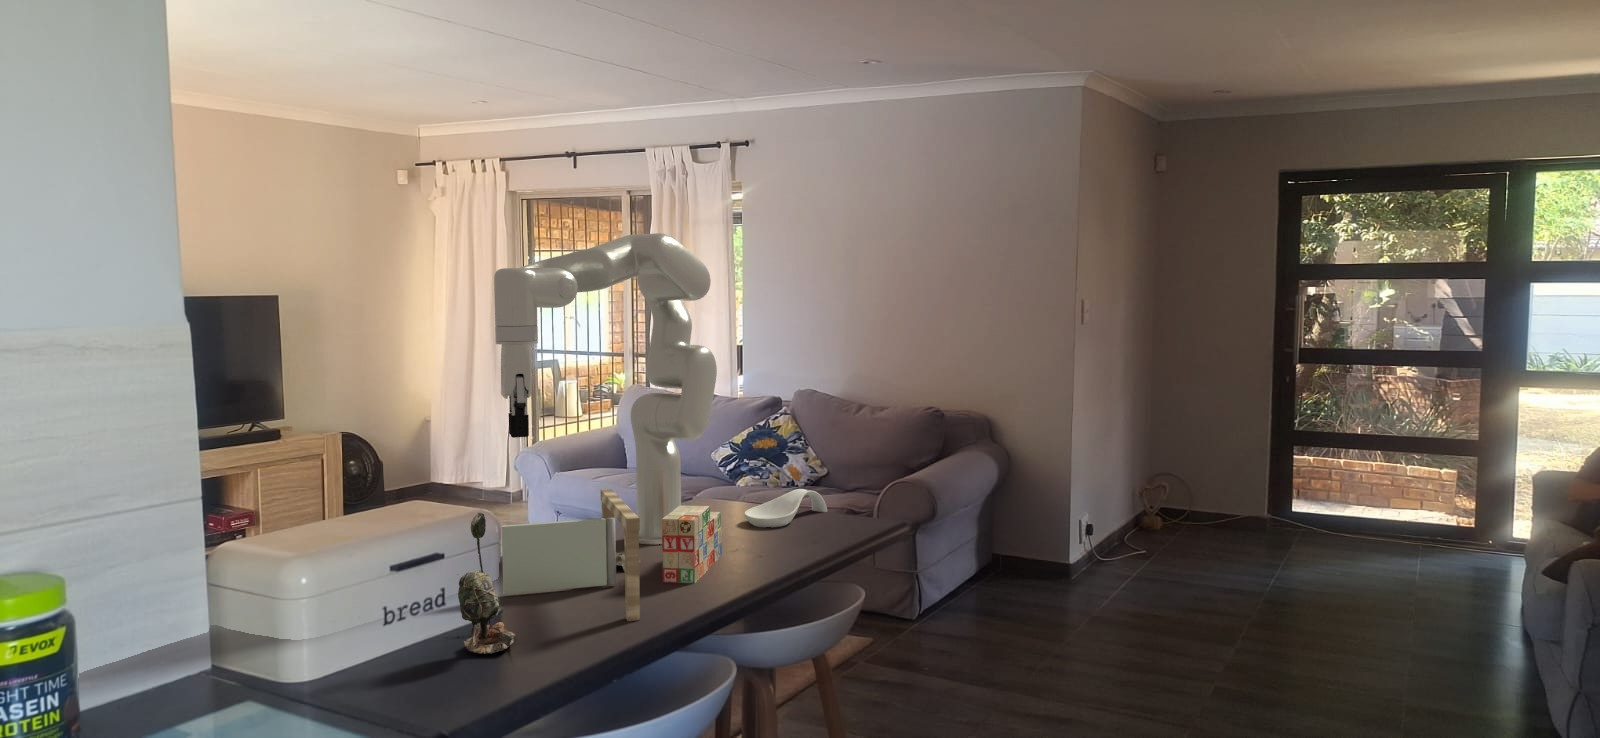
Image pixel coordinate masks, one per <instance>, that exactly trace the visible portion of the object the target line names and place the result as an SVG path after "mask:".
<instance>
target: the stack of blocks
mask: <svg viewBox="0 0 1600 738" xmlns="http://www.w3.org/2000/svg"><path fill="white" fill-rule="evenodd" d="M710 510H711V507H710V505H681V506H678V507H677V508H676V509H675V510H673V511H672V512H671V513H670V514H668V515H667V516H665V517H664V518H662V544H661V549H662V551H661V552H662V583H663V582H671V583H670V584H696V583H697V580H698V581H699V580H700V579H701V578H702V577H703V576H704V575H706V573H707V572H708V570H709V569H710V568H711V567H712V565H713V564H714V562H715V563H716V562H717V561H718V560H719V559H720V557H722V552H723V551H722V549H723V548H722V547H723V546H722V545H723V544H722V541H723V540H722V537H723V536H722V533H723V532H722V518H721V517H722V516H721V514H722V513H721V511H710ZM718 558H719V559H718ZM709 567H710V568H709ZM706 571H707V572H706Z"/></svg>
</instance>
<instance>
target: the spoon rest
mask: <svg viewBox="0 0 1600 738" xmlns="http://www.w3.org/2000/svg"><path fill="white" fill-rule="evenodd" d="M805 496H808V497H809V498H810V501H811V511H813V512H818V513H819V512H820V513H827V512H828V508H827V503H826V502H825V499H824V498H823V496H822V495H821V494H820V493H818V491H815V490H808V489H804V488H798V489H793V490H791V491H789V492H786V493H783V494H782V495H780V496H778V497H776V498H774V499H772V500H769V501H766V502H764V503H762V504H759V505H756V506H753V507H750V508H748V509H747V510H745V511H744V513H743V515H744V517H745V519H746V520H747V521H748V523H749V524H751V525H752V526H754V527H758V528H766V527H771V528H780V527H784V526H787V525H788V524H790V523H791V522H792V520H793V519H794V518H795V516H796V514H797V512H798V510H799V507H800V504H801V503H802V500H803V499H804V497H805Z"/></svg>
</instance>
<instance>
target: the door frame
mask: <svg viewBox="0 0 1600 738" xmlns="http://www.w3.org/2000/svg"><path fill="white" fill-rule="evenodd" d="M599 491H600V502H601V518H605V519H606V518H615V520H617V521H618V522H619V524H620V525H621V526H622V527H623V529H624V530H623V532H624V533H623V535H624V536H623V537H624V538H623V539H624V540H623V541H624V545H623V546H624V554H625V572H624V591H625V593H624V596H625V597H624V598H625V599H624V600H625V601H624V602H625V620H626V621H627V622H634V621H636V622H637V621H641V601H640V600H641V599H640V598H641V597H640V596H641V594H640V562H639V560H640V543H639V530H640V518H639V517H638V516H637V513H635V512H634V510H633V509H631V508H630V506H628V505H627V503H626V502H625V501H624V500H623V499H622V498H621V497H620V496H619V495H618V494H617V493H616V492H615V491H614V490H613V489H612V488H605V489H604V488H602V489H600V490H599ZM606 569H607V536H606Z"/></svg>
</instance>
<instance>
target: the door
mask: <svg viewBox="0 0 1600 738" xmlns="http://www.w3.org/2000/svg"><path fill="white" fill-rule="evenodd" d="M606 536H607V569H606ZM616 538H617V537H616V517H614V518H606V519H605V518H602V517H601V518H592V519H591V518H590V519H575V520H562V521H561V520H560V521H549V522H548V521H545V522H534V523H533V522H532V523H531V522H530V523H521V524H504V525H501V546H502V547H501V548H502V549H501V552H502V553H501V554H502V559H501V560H502V588H503V589H502V593H503V595H513V594H524V593H534V592H535V593H536V592H546V591H557V590H567V589H568V590H569V589H579V588H591V587H603V586H607V585H609V586H614V585H617V565H616V553H617V551H616V545H617V544H616V542H617V541H616Z"/></svg>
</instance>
